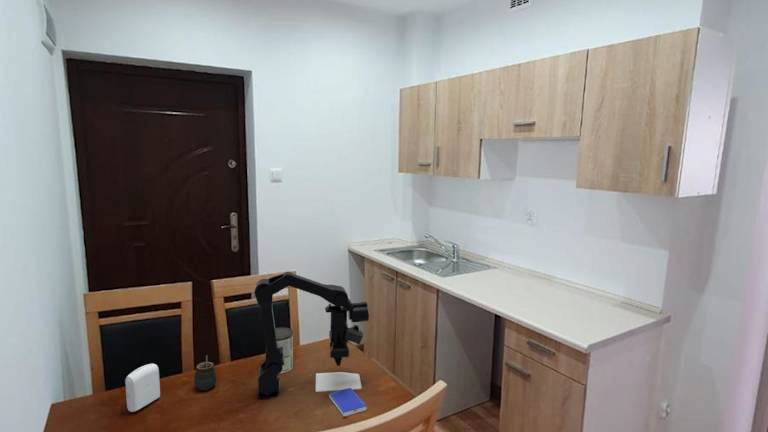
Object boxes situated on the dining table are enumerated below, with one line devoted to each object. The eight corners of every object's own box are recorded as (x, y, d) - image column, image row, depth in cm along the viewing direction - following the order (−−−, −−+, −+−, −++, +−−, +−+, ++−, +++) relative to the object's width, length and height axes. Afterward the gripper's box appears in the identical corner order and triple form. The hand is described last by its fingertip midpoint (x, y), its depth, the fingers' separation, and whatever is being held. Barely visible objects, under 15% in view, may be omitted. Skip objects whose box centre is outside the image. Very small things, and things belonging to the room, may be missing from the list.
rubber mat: (315, 391, 144) (315, 391, 144) (316, 374, 156) (316, 373, 156) (361, 389, 146) (361, 388, 146) (358, 371, 159) (358, 371, 159)
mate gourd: (194, 394, 141) (193, 366, 140) (194, 383, 148) (193, 356, 147) (217, 390, 144) (216, 362, 143) (216, 379, 151) (215, 353, 150)
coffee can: (261, 366, 161) (260, 331, 160) (284, 358, 168) (284, 325, 167) (273, 376, 154) (273, 340, 152) (298, 368, 161) (298, 333, 159)
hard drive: (329, 392, 141) (343, 412, 130) (351, 387, 144) (366, 405, 134) (329, 397, 141) (343, 416, 130) (351, 391, 145) (366, 410, 134)
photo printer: (134, 413, 130) (132, 375, 128) (124, 410, 131) (122, 373, 130) (162, 396, 139) (160, 361, 138) (153, 394, 141) (151, 359, 139)
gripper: (364, 332, 138) (363, 377, 140) (359, 312, 156) (358, 352, 158) (330, 333, 136) (330, 379, 138) (329, 313, 155) (329, 354, 156)
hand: (338, 365), depth 148 cm, fingers closed
